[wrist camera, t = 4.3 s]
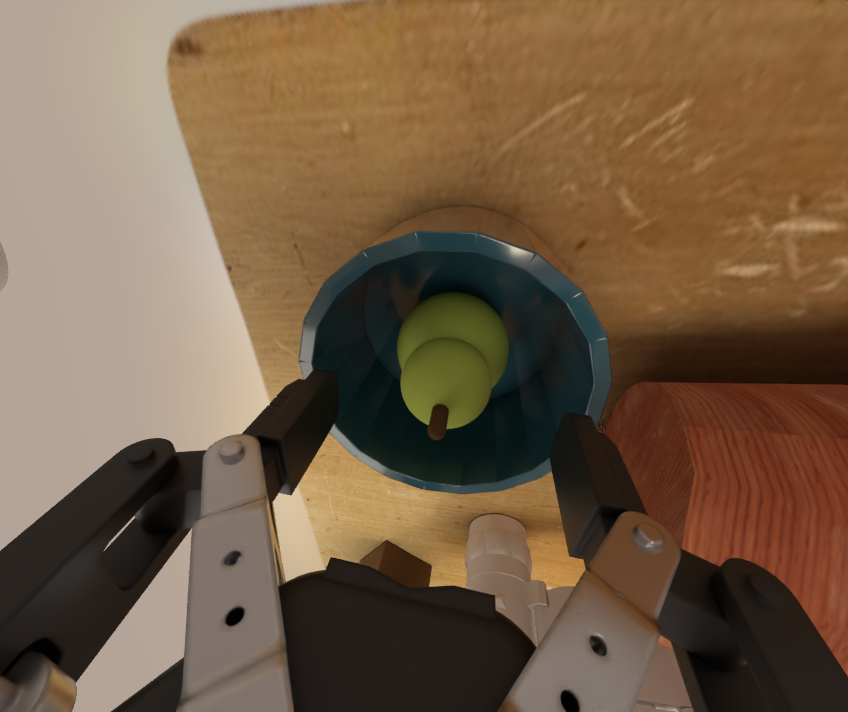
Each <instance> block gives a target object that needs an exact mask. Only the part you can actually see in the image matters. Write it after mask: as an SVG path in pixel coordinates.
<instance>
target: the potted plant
mask: <svg viewBox="0 0 848 712" xmlns="http://www.w3.org/2000/svg"><path fill="white" fill-rule="evenodd" d="M604 434H606V435H607V436H608V437H609V438H610V439H611V440H612V442H613V443H614V444H615V445H616V446H617V447H618V449H619V452H620V454H621V456H622V458H623V462H624V463H625V465H626V467H627V469H628V474H630V476H631V478H632V480H633V483H634V485H635V487H636V489H637V491H638V494H639V496H640V498H641V500H642V502H643V505H644V507H645V509H646V511H647V514H648V516H650V517H652V518H653V519H655V520H657V521H658V522H659V523H661V524H662V525H663V526H664V527H666V528H667V529H668V530H669V532H670V533H671V534H672V535H673V536H674V538H675V539H676V541H677V543H678V545H679V547H680V548H682V549H684V550H685V551H687V552H690V553H692V554H694V555H696V556H698V557H700V558H702V559H705V560H707V561H709V562H711V563H713V564H715V565H718V566H721V565H722V564H723V563H724V562H725V561H726V560H727V559H730V558H740V559H745V560H748V561H750V562H753V563H755V564H757V565H759V566H761V567H763V568H764V569H766V570H767V571H769V572H770V573H772V574H773V575H774V576H776V577H777V578H778V579H779V580H780V581H781V582H783V583H784V584H785V585H786V586H787V587H788V588H789V590H790V591H791V592H792V593H793V594H794V596H795V597H796V598H797V600H798V601H799V603H800V604H801V606H802V607H803V609H804V610H805V612H806V613H807V615H808V616H809V618H810V620H811V621H812V623H813V624H814V626H815V627H816V629H817V630H818V632H819V633H820V635H821V636H822V638H823V639H824V641H825V642H826V644H827V645H828V647H829V649H830V650H831V652H832V653H833V655H834V656H835V658H836V659H837V661H838V662H839V664H840V665H841V667H842V668H843V670H844V671H845V673H846V674H847V676H848V384H847V385H839V384H761V383H682V382H639V383H637V384H635V385H634V386H632V387H630V388H629V389H627V390H626V391H625V392H624V394H623V395H622V396H621V398H620V399H619V401H618V402H617V403H616V405H615V407H614V409H613V412H612V414H611V417H610V419H609V421H608V424H607V426H606V429H605V432H604ZM657 644H659V645H661V646H664V647H666V648H669V649H671V650H673V647H672V644H671V641H670V640H668V639H666V638H664V637H662V636H661V635H660V637H659V640H658V643H657Z"/></svg>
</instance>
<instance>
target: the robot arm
mask: <svg viewBox="0 0 848 712" xmlns="http://www.w3.org/2000/svg"><path fill="white" fill-rule="evenodd" d="M339 407H340V402H339V383H338V374H337V372H336V371H331V370H325V369H320V368H315V369H313V371H312V372H311V373H310V374H309V375H308V376H307V378H306V379H305V380H302V379H298V380H296V381H294V382H292V383H291V384H289V385H287V386H285V388H284V389H283V390H282V391H281V392H280V393H279V394H278V395H277V398H276V397H275V398H274V399H273V401H272V402H271V403H270V405H268V406H267V407H266V408H265V409H264V410H263V411H262V413H261V414H260V415H259V416H258V417H257V418H256V419H255V420H254V421H253V422H252V424H251V425H250V426H249V427H248V428H247V429H246V430H245V431H244V432H243V433H242V434H238V435H232V436H228V437H225V438H223V439H221V440H219V441H217V442H215V443H214V444H213V445H211V446H210V447H209V448H208V449H207V450H204V451H189V452H176V451H175V448H174V446H173V444H172V443H171V442H170V441H169V440H166V439H162V438H153V439H147V440H143V441H140V442H137V443H134V444H131V445H130V446H128V447H126V448H124V449H123V450H121V451H120V452H119V453H117V454H116V455H115V456H113V457H112V458H111V459H110V460H109V461H107V462H106V463H105V464H104V465H103V466H102V467H100V468H99V469H98V470H97V471H95V472H94V473H93V474H92V475H91V476H89V477H88V478H87V479H86V480H85V481H83V482H82V483H81V484H80V485H79V486H77V487H76V488H75V489H74V490H73V491H72V492H70V493H69V494H68V495H67V496H65V497H64V498H63V499H62V500H61V501H59V502H58V503H57V504H56V505H55V506H54V507H52V508H51V509H50V510H49V511H48V512H46V513H45V514H44V515H43V516H42V517H40V518H39V519H38V520H37V521H36V522H34V524H32V525H31V526H30V527H28V528H27V529H26V530H25V531H24V532H22V533H21V534H20V535H19V536H18V537H17V538H15V539H14V540H13V541H12V542H10V543H9V544H8V545H7V546H6V547H4V548H3V549H2V550H1V551H0V712H72V710H73V707H74V704H75V701H76V695H77V687H76V682H77V680H78V679H79V678H80V676H81V675H82V674H83V672H84V671H85V670H86V668H87V667H88V666H89V664H90V663H91V662H92V660H93V659H94V658H95V656H96V655H97V654H98V652H99V651H100V650H101V648H102V647H103V646H104V644H105V643H106V642H107V640H108V639H109V638H110V636H111V635H112V634H113V632H114V631H115V630H116V628H117V627H118V626H119V624H120V623H121V622H122V620H123V619H124V618H125V616H126V615H127V614H128V612H129V611H130V610H131V608H132V607H133V606H134V604H135V603H136V601H137V600H138V599H139V598H140V596H141V595H142V594H143V592H144V591H145V590H146V588H147V587H148V586H149V584H150V583H151V582H152V580H153V579H154V578H155V576H156V575H157V574H158V572H159V571H160V570H161V568H162V567H163V566H164V564H165V563H166V562H167V560H168V559H169V558H170V556H171V555H172V553H173V552H174V551H175V549H176V548H177V547H178V546H179V544H180V543H181V542H182V540H183V539H184V538H185V536H186V535H187V534H188V532H189V531H190V530H191V528H192V537H191V555H190V570H189V586H188V603H187V620H186V636H185V652H184V657H183V658H182V659H181V660H179V661H178V662H177V663H175V664H174V665H173V666H171V667H170V668H169V669H168V670H166V671H165V672H163V673H162V674H161V675H159V676H158V677H157V678H155V679H154V680H153V681H151V682H150V683H149V684H147V685H146V686H145V687H143V688H142V689H141V690H139V691H138V692H137V693H135V694H134V695H133V696H131V697H130V698H129V699H127V700H126V701H125V702H123V703H122V704H121V705H119V706H118V707H117V708H115V709H114V710H113V711H111V712H633V710H634V707H635V704H636V701H637V699H638V696H639V693H640V690H641V688H642V685H643V682H644V679H645V676H646V674H647V671H648V668H649V665H650V662H651V660H652V657H653V654H654V651H655V649H656V646H657V643H658V640H659V637H660V635H661V636H662V637H664V638H666V639H668V640H670V641H671V644H672V647H673V651H674V654H675V657H676V660H677V663H678V666H679V669H680V672H681V675H682V678H683V681H684V684H685V687H686V690H687V693H688V696H689V699H690V702H691V705H692V708H693V711H694V712H848V676H847V674H846V673H845V671H844V670H843V668H842V667H841V665H840V664H839V662H838V661H837V659H836V658H835V656H834V655H833V653H832V652H831V650H830V649H829V647H828V645H827V644H826V642H825V641H824V639H823V638H822V636H821V635H820V633H819V632H818V630H817V629H816V627H815V626H814V624H813V623H812V621H811V620H810V618H809V616H808V615H807V613H806V612H805V610H804V609H803V607H802V606H801V604H800V603H799V601H798V600H797V598H796V597H795V596H794V594H793V593H792V592H791V591H790V590H789V588H788V587H787V586H786V585H785V584H784V583H783V582H781V581H780V580H779V579H778V578H777V577H776V576H774V575H773V574H772V573H770V572H769V571H767V570H766V569H764V568H763V567H761V566H759V565H757V564H755V563H753V562H750V561H748V560H745V559H740V558H730V559H727V560H726V561H725V562H724V563H723V564H722V565H721V566H718V565H715V564H713V563H711V562H709V561H707V560H705V559H702V558H700V557H698V556H696V555H694V554H692V553H690V552H687V551H685V550H684V549H682V548H680V547H679V545H678V543H677V541H676V539H675V538H674V536H673V535H672V534H671V533H670V532H669V530H668V529H667V528H666V527H664V526H663V525H662V524H661V523H659V522H658V521H657V520H655V519H653V518H652V517H650V516H648V514H647V511H646V509H645V507H644V505H643V502H642V500H641V498H640V496H639V494H638V491H637V489H636V487H635V485H634V483H633V480H632V478H631V476H630V474H628V469H627V467H626V465H625V463H624V462H623V458H622V456H621V454H620V452H619V449H618V447H617V446H616V445H615V444H614V443H613V442H612V440H611V439H610V438H609V437H608V436H607V435H606V434H603V433H598V432H597V429H596V427H595V424H594V422H593V419H592V417H591V416H588V415H582V414H577V413H571V412H566V413H565V414H564V415H563V417H562V420H561V422H560V425H559V427H558V430H557V433H556V435H555V438H554V440H553V443H552V446H551V451H550V464H551V469H552V474H553V479H554V483H555V488H556V493H557V498H558V503H559V508H560V513H561V518H562V523H563V528H564V533H565V538H566V543H567V547H568V552H569V556H570V557H575V558H579V559H584V563H585V567H586V570H585V571H584V573H583V575H582V576H581V578H580V579H579V581H578V583H577V584H576V586H575V587H574V589H573V591H572V592H571V594H570V595H569V597H568V599H567V600H566V602H565V603H564V605H563V607H562V608H561V610H560V611H559V613H558V615H557V616H556V618H555V619H554V621H553V623H552V624H551V626H550V627H549V629H548V631H547V632H546V634H545V635H544V637H543V639H542V640H541V642H540V643H539V645H538V647H536V646H535V644H534V643H533V642H532V640H531V639H530V638H529V637H528V636H527V635H526V634H525V633H524V632H523V630H522V629H521V628H519V627H518V626H517V625H516V624H515V623H514V622H513V621H512V620H510V619H509V618H507V617H506V616H505V615H503V614H502V613H500V612H498V611H496V604H495V595H492V594H488V593H483V592H479V591H475V590H470V589H466V588H462V587H457V586H438V587H420V588H409V587H406V586H404V585H402V584H400V583H399V582H397V581H395V580H393V579H391V578H390V577H388V576H386V575H384V574H383V573H381V572H379V571H377V570H376V569H374V568H372V567H370V566H367V565H362V564H358V563H354V562H349V561H345V560H341V559H336V558H332V557H331V558H330V561H329V563H328V566H327V568H326V570H322V571H316V572H310V573H307V574H304V575H301V576H298V577H296V578H294V579H292V580H289V581H287V582H286V580H285V575H284V570H283V564H282V558H281V552H280V546H279V539H278V533H277V527H276V520H275V513H274V507H273V503H272V502H273V501H274V499H275V498H276V496H277V495H278V493H283V494H287V495H292V493H293V492H294V490H295V488H296V487H297V485H298V483H299V482H300V480H301V478H302V477H303V475H304V473H305V472H306V470H307V468H308V467H309V465H310V463H311V462H312V460H313V458H314V457H315V455H316V453H317V452H318V450H319V448H320V447H321V445H322V443H323V442H324V440H325V438H326V437H327V435H328V433H329V432H330V430H331V428H332V427H333V425H334V423H335V422H336V420H337V417H338V413H339ZM133 516H135V517H136V518H135V519H134V520H133V521H132V522H131V523H130V524H129V525H128V526H127V527H126V528H125V530H124V531H123V532H122V533H121V534H120V535H119V536H118V537H117V538H116V539H115V540H114V541H113V543H111V545H110V546H109V547H108V548H107V549H106V550H105V551H104V549H105V548H106V546H107V545H108V543H109V542H110V541H111V540H112V539H113V537H114V536H115V535H116V534H117V533H118V532H119V531H120V530H121V529H122V528H123V527H124V526H125V525H126V523H128V521H129V520H130V519H131V518H132V517H133ZM103 551H104V552H103Z"/></svg>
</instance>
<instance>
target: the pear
mask: <svg viewBox="0 0 848 712" xmlns="http://www.w3.org/2000/svg"><path fill="white" fill-rule="evenodd" d="M397 354H398V360H399V364H400V367H401V370H402V373H401V392H402V396H403V399H404V401H405V403H406V405H407V407H408V409H409V410H410V411H411V412H412V414H413V415H414V416H415V417H416V418H417V419H419V420H420V421H422V422H423V423H425V424H427V425H428V435H429V436H430V437H431V438H432V439H434V440H440V439H442V438H443V437H444V436H445V434H446V429H452V428H458V427H461V426H464V425H466V424H468V423H470V422H471V421H473V420H474V419H475V418H477V417H478V416H479V415H480V414H481V413H482V411H483V410H484V408H485V407H486V405H487V403H488V401H489V398H490V395H491V390H492V388H493V387H494V386H495V385H496V383H497V382H498V381H499V379H500V378H501V376H502V374H503V372H504V370H505V368H506V365H507V361H508V356H509V339H508V335H507V331H506V328H505V326H504V323H503V321H502V320H501V318H500V317H499V315H498V314H497V313H496V311H495V310H494V309H493V308H492V307H491V306H490V305H488V304H487V303H486V302H484V301H483V300H481V299H479V298H477V297H475V296H472V295H469V294H465V293H459V292H447V293H441V294H437V295H434V296H431V297H429V298H427V299H425V300H424V301H422V302H421V303H419V304H418V305H417V306H416V307H415V308H413V310H412V311H411V312H410V313H409V314H408V316H407V317H406V319H405V320H404V322H403V324H402V327H401V329H400V332H399V336H398V342H397Z"/></svg>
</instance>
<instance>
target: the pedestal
mask: <svg viewBox="0 0 848 712" xmlns="http://www.w3.org/2000/svg"><path fill="white" fill-rule="evenodd" d="M359 564H362V565H367V566H370V567H372V568H374V569H376V570H377V571H379V572H381V573H383V574H384V575H386V576H388V577H390V578H391V579H393V580H395V581H397V582H399V583H400V584H402V585H404V586H406V587H409V588H420V587H429V582H430V575H431V568H432V567H431V566H430V565H428V564H426V563H424V562H423V561H421V560H419V559H417V558H416V557H414V556H412V555H410V554H408V553H407V552H405V551H403V550H401V549H400V548H398V547H396V546H394V545H393V544H391V543H389V542H387V541H386V542H385V543H383V544H382V545H381V546H379V547H378V548H377V549H375V550H374V551H373V552H372V553H370V554H369V555H368V556H366V557H365V558H364V559H363V560H361V561H360V563H359Z"/></svg>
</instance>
